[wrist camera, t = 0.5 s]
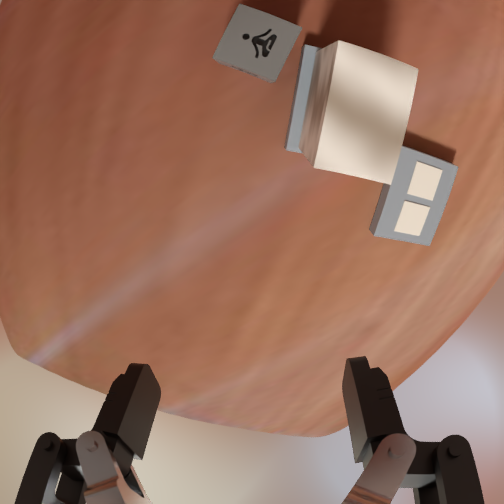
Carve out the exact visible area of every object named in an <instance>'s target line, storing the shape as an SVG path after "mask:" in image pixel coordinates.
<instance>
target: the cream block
mask: <svg viewBox="0 0 504 504" xmlns="http://www.w3.org/2000/svg"><path fill="white" fill-rule="evenodd" d="M417 75H418V69H417V68H415V67H412V66H410V65H408V64H405V63H403V62H401V61H398V60H396V59H393V58H391V57H388V56H385V55H383V54H380V53H377V52H374V51H371V50H369V49H366V48H363V47H360V46H356V45H353V44H350V43H347V42H343V41H340V40H338V41H336V42H334V43H332V44H330V45H328V46H326V47H324V48H322V49H321V50H319V51H317V52H316V55H315V61H314V66H313V72H312V78H311V83H310V89H309V94H308V99H307V105H306V110H305V115H304V120H303V126H302V131H301V136H300V141H299V146H298V148H299V149H300V150H301V151H302V153H303V154H304V155H305V157H306V158H307V159H308V161H309V162H310V163H311V165H312V166H313V167H314V168H318V169H323V170H328V171H333V172H338V173H343V174H347V175H352V176H356V177H361V178H365V179H369V180H373V181H377V182H382V183H386V184H389V185H391V183H392V180H393V176H394V173H395V169H396V166H397V162H398V159H399V155H400V151H401V148H402V144H403V140H404V136H405V132H406V128H407V123H408V119H409V115H410V110H411V106H412V101H413V96H414V91H415V86H416V80H417Z"/></svg>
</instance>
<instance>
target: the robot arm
mask: <svg viewBox="0 0 504 504" xmlns="http://www.w3.org/2000/svg"><path fill="white" fill-rule="evenodd" d="M342 390H343V397H344V403H345V408H346V413H347V418H348V424H349V429H350V435H351V441H352V447H353V453H354V459H355V463H359V462H363V467H364V471H363V473H362V474H361V476H360V478H359V479H358V481H357V482H356V484H355V485H354V487H353V488H352V490H351V491H350V492H349V494H348V495H347V497H346V498H345V500H344V501H343V502H342V504H390V503H391V501H392V499H393V497H394V496H395V494H396V492H397V490H398V488H400V487H401V488H413V492H414V499H415V504H484V499H483V494H482V490H481V485H480V481H479V477H478V473H477V469H476V465H475V461H474V457H473V454H472V451H471V447H470V444H469V442H468V441H467V440H466V439H465V438H464V437H462V436H460V435H450V436H448V437H446V438H444V439H443V440H442V441H441V442H420V441H416V440H414V439H412V438H411V437H410V436H408V434H407V433H406V432H405V430H404V427H403V424H402V420H401V417H400V414H399V411H398V407H397V404H396V401H395V398H394V395H393V392H392V389H391V386H390V383H389V380H388V377H387V375H386V374H385V373H384V372H383V371H382V370H381V369H380V368H379V367H377V368H371V369H370V367H369V363H368V360H367V358H366V357H365V356H363V357H355V358H348V359H347V360H346V365H345V371H344V377H343V383H342ZM160 397H161V389H160V386H159V384H158V382H157V380H156V378H155V376H154V374H153V372H152V370H151V368H150V366H149V365H148V364H138V363H131V364H130V365H129V366H128V368H127V371H126V373H125V374H120V375H119V376H118V377H117V378H116V380H115V381H114V382H113V383H112V385H111V388H110V390H109V394H107V397H106V399H105V400H106V401H105V402H104V403H103V406H102V408H101V410H100V413H99V415H98V417H97V420H96V422H95V425H94V427H93V429H92V430H91V431H87V432H85V433H83V434H82V435H80V437H79V438H78V439H60V438H59V437H58V436H57V435H56V434H54V433H51V432H48V433H44V434H42V435H41V436H40V437H39V439H38V440H37V442H36V445H35V447H34V450H33V452H32V455H31V457H30V460H29V463H28V465H27V468H26V471H25V474H24V476H23V479H22V482H21V486H20V488H19V491H18V495H17V498H16V501H15V504H86V503H87V504H152V502H151V501H150V500H149V498H148V496H147V494H146V492H145V490H144V488H143V486H142V484H141V482H140V480H139V478H138V476H137V474H136V472H135V470H134V468H133V466H132V465H131V464H132V460H133V458H134V459H139V460H142V459H143V455H144V452H145V448H146V445H147V441H148V438H149V435H150V431H151V427H152V424H153V421H154V418H155V414H156V411H157V408H158V405H159V401H160ZM60 472H61V473H62V475H61V478H60V481H59V484H58V488H57V491H56V494H55V488H56V485H57V481H58V478H59V475H60Z"/></svg>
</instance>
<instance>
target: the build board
mask: <svg viewBox="0 0 504 504" xmlns="http://www.w3.org/2000/svg"><path fill="white" fill-rule="evenodd" d="M457 170H458V167H457V166H456V165H454V164H452V163H450V162H447V161H445V160H442V159H440V158H437V157H434V156H432V155H429V154H426V153H424V152H421V151H418V150H415V149H412V148H409V147H406V146H403V145H402V148H401V151H400V155H399V159H398V162H397V166H396V169H395V173H394V176H393V180H392V183H391V185H389V184H386V183H384V185H383V188H382V191H381V195H380V198H379V201H378V204H377V207H376V210H375V213H374V216H373V219H372V222H371V225H370V228H369V230H370V231H371V233H372V234H373V236H377V237H383V238H389V239H395V240H400V241H406V242H411V243H417V244H422V245H427V246H430V244H431V241H432V239H433V236H434V234H435V232H436V229H437V227H438V224H439V222H440V219H441V216H442V214H443V211H444V209H445V206H446V203H447V200H448V197H449V195H450V192H451V189H452V186H453V183H454V180H455V176H456V173H457Z"/></svg>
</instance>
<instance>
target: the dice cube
mask: <svg viewBox="0 0 504 504" xmlns="http://www.w3.org/2000/svg"><path fill="white" fill-rule="evenodd" d="M301 30H302V27H300V26H297V25H295V24H293V23H290V22H288V21H286V20H283V19H281V18H278V17H276V16H273V15H271V14H268V13H265V12H263V11H260V10H257V9H254V8H251V7H248V6H245V5H242V4H239V5H238V7H237V9H236V11H235V13H234V15H233V17H232V19H231V21H230V23H229V24H228V26H227V28H226V30H225V32H224V34H223V36H222V39H221V41H220V43H219V45H218V47H217V49H216V51H215V53H214V55H213V59H214V60H216V61H217V62H218V63H220V64H222V65H225V66H228V67H231V68H234V69H237V70H239V71H242V72H245V73H247V74H250V75H252V76H255V77H257V78H260V79H262V80H265V81H267V82H269V83H273V82H275V81H276V79H277V77H278V75H279V73H280V71H281V69H282V67H283V65H284V63H285V61H286V59H287V57H288V55H289V53H290V51H291V49H292V47H293V45H294V43H295V41H296V39H297V37H298V35H299V33H300V32H301Z"/></svg>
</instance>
